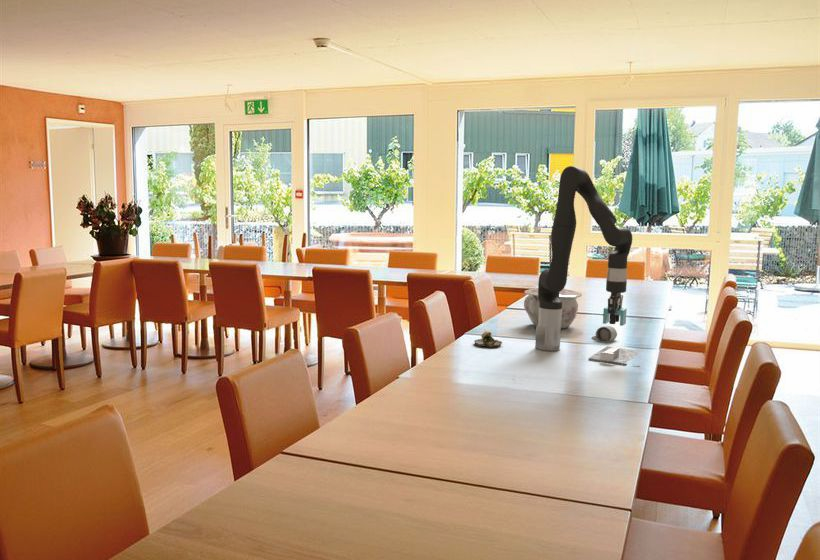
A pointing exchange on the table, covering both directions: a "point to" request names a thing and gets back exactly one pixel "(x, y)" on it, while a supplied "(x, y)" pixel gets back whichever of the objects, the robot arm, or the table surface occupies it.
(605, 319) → the block
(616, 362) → the base
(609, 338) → the ceramic mug
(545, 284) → the robot arm
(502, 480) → the table surface
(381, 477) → the table surface
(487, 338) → the mottled brown knobbed disc
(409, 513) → the table surface
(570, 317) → the chamber pot
